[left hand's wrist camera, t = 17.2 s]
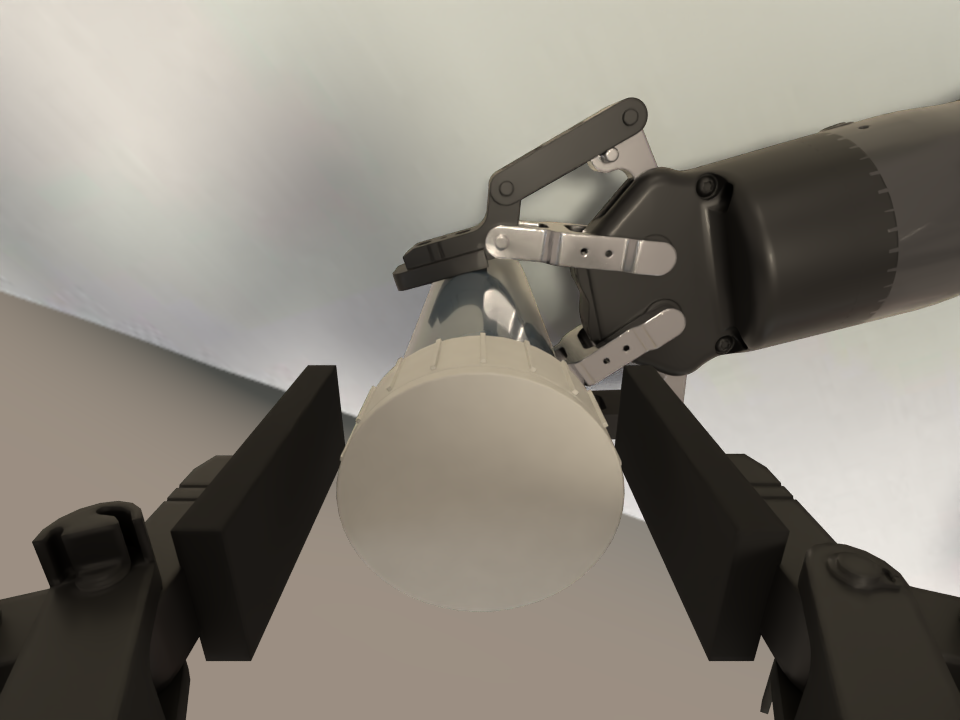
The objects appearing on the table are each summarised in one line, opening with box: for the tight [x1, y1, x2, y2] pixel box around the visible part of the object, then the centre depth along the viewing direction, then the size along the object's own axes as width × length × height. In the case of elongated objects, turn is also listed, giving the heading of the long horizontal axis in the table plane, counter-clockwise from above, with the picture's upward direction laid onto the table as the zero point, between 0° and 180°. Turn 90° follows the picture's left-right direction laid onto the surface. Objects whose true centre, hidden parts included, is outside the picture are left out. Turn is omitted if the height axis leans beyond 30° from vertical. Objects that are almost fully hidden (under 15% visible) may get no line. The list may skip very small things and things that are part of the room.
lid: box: [337, 333, 625, 612], centre depth 11 cm, size 6×6×2 cm
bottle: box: [403, 258, 558, 360], centre depth 19 cm, size 5×5×17 cm
